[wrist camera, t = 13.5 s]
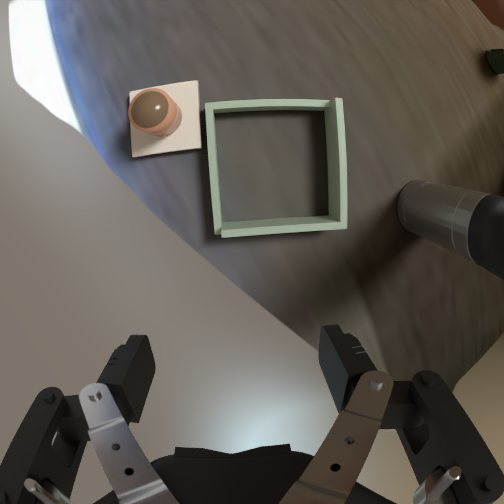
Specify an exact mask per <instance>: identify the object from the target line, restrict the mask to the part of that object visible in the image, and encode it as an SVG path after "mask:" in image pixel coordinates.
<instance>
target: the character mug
mask: <svg viewBox="0 0 504 504" xmlns="http://www.w3.org/2000/svg"><path fill="white" fill-rule="evenodd" d="M486 56H487V60H488V62H489V64H490V65H491V67H492V68H493V70H494V71H495V72H496V73H497V74H503V73H504V49H492V50H491V51H489V52H486Z"/></svg>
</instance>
